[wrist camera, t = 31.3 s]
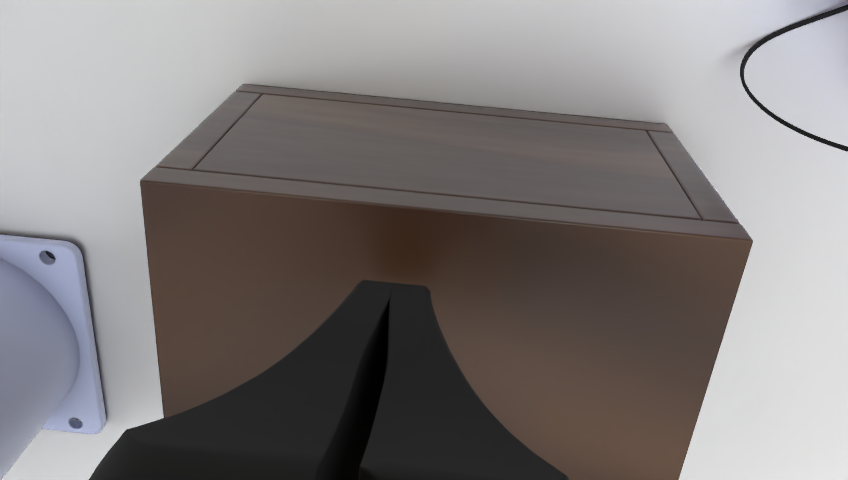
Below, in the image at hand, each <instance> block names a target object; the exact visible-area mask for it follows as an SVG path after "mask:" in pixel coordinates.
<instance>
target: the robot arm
mask: <svg viewBox="0 0 848 480" xmlns="http://www.w3.org/2000/svg"><path fill="white" fill-rule="evenodd" d="M46 251H49V252H51V253H52V254H53V255H54V257H55V259H52V258H50V257H49V256H48V255H47V254H46ZM75 418H77V419H79V420H80V421H78V420H76V419H75ZM105 424H106V415H105V408H104V401H103V394H102V388H101V381H100V374H99V367H98V360H97V353H96V346H95V340H94V333H93V326H92V319H91V312H90V305H89V298H88V292H87V285H86V278H85V271H84V264H83V257H82V254H81V251H80V250H79V248H78V247H77V246H76V245H74V244H73V243H71V242H67V241H60V240H50V239H40V238H30V237H20V236H10V235H0V480H2V478H3V477H4V476H5V475H6V473H7V472H8V471H9V469H10V468H11V467H12V465H13V464H14V463H15V462H16V460H17V459H18V458H19V456H20V455H21V454H22V452H23V451H24V450H25V449H26V447H27V446H28V445H29V443H30V442H31V441H32V439H33V438H34V437H35V436H36V434H37V433H38V432H39V430H40V429H47V430H56V431H66V432H75V433H85V434H97V433H99V432H100V431H101V430H102V429H103V427H104V426H105ZM89 480H569V478H568V477H567V475H565V474H564V473H562V472H561V471H559V470H558V469H557V468H555V467H554V466H552V465H551V464H549V463H548V462H546V461H545V460H544V459H542V458H541V457H539V456H538V455H536V454H535V453H534V452H532V451H531V450H530V449H529V448H528V447H526V446H525V445H524V444H523V443H522V442H521V441H519V440H518V439H517V438H516V437H515V436H514V435H512V434H511V433H510V432H509V431H508V430H507V429H506V428H505V427H504V425H503V424H502V423H501V422H500V421H499V420H498V419H497V418H496V417H495V416H494V415H493V414H492V413H491V412H490V410H489V409H488V408H487V407H486V405H485V404H484V403H483V402H482V400H481V399H480V398H479V396H478V395H477V394H476V392H475V391H474V390H473V388H472V387H471V385H470V384H469V382H468V381H467V379H466V378H465V376H464V374H463V373H462V371H461V369H460V368H459V366H458V364H457V362H456V361H455V359H454V357H453V355H452V353H451V351H450V349H449V347H448V345H447V343H446V340H445V338H444V336H443V334H442V332H441V329H440V327H439V324H438V321H437V318H436V315H435V312H434V309H433V305H432V301H431V292H430V290H429V289H428V288H427V287H426V286H421V285H411V284H401V283H391V282H381V281H371V280H362V281H361V282H359V283H358V284H357V285H356V286H355V288H354V289H353V290H352V291H351V293H350V294H349V295H348V296H347V297H346V299H345V300H344V301H343V302H342V303H341V304H340V305H339V306H338V308H337V309H336V310H335V311H334V312H333V313H332V314H331V315H330V316H329V317H328V318H327V319H326V320H325V321H324V322H323V323H322V324H321V325H320V326H319V327H318V328H317V329H316V330H315V331H314V332H313V333H312V334H311V335H309V336H308V337H307V338H306V339H305V340H304V341H303V342H301V343H300V344H299V345H298V346H297V347H296V348H295V349H293V350H292V351H291V352H290V353H288V354H287V355H286V356H285V357H283V358H282V359H281V360H279V361H278V362H277V363H275V364H274V365H273V366H271V367H270V368H268V369H267V370H265V371H264V372H262V373H261V374H259V375H258V376H256V377H254V378H252V379H250V380H248V381H247V382H245V383H243V384H241V385H239V386H238V387H236V388H234V389H232V390H230V391H229V392H227V393H225V394H223V395H221V396H219V397H216V398H214V399H212V400H210V401H208V402H205V403H203V404H201V405H198V406H196V407H193V408H191V409H189V410H186V411H183V412H181V413H178V414H175V415H173V416H170V417H166V418H163V419H160V420H157V421H154V422H151V423H147V424H144V425H141V426H138V427H135V428H131V429H127V430H126V431H125V432H124V433H123V434H122V436H121V437H120V438H119V440H118V441H117V442H116V443H115V444H114V445H113V447H112V448H111V449H110V450H109V451H108V453H107V454H106V455H105V457H104V458H103V459H102V461H101V462H100V464H99V465H98V466H97V468H96V469H95V471H94V473H93V474H92V476H91V477H90V479H89Z"/></svg>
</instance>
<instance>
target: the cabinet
mask: <svg viewBox="0 0 848 480" xmlns="http://www.w3.org/2000/svg"><path fill="white" fill-rule="evenodd" d="M140 186H141V196H142V206H143V215H144V225H145V235H146V245H147V255H148V265H149V275H150V285H151V295H152V305H153V315H154V325H155V334H156V344H157V354H158V364H159V374H160V384H161V394H162V404H163V414H164V418H166V417H170V416H173V415H175V414H178V413H181V412H183V411H186V410H189V409H191V408H193V407H196V406H198V405H201V404H203V403H205V402H208V401H210V400H212V399H214V398H216V397H219V396H221V395H223V394H225V393H227V392H229V391H230V390H232V389H234V388H236V387H238V386H239V385H241V384H243V383H245V382H247V381H248V380H250V379H252V378H254V377H256V376H258V375H259V374H261V373H262V372H264V371H265V370H267V369H268V368H270V367H271V366H273V365H274V364H275V363H277V362H278V361H279V360H281V359H282V358H283V357H285V356H286V355H287V354H288V353H290V352H291V351H292V350H293V349H295V348H296V347H297V346H298V345H299V344H300V343H301V342H303V341H304V340H305V339H306V338H307V337H308V336H309V335H311V334H312V333H313V332H314V331H315V330H316V329H317V328H318V327H319V326H320V325H321V324H322V323H323V322H324V321H325V320H326V319H327V318H328V317H329V316H330V315H331V314H332V313H333V312H334V311H335V310H336V309H337V308H338V306H339V305H340V304H341V303H342V302H343V301H344V300H345V299H346V297H347V296H348V295H349V294H350V293H351V291H352V290H353V289H354V288H355V286H356V285H357V284H358V283H359V282H361V281H362V280H371V281H381V282H391V283H401V284H411V285H421V286H426V287H427V288H428V289H429V290H430V292H431V301H432V305H433V309H434V312H435V315H436V318H437V321H438V324H439V327H440V329H441V332H442V334H443V336H444V338H445V340H446V343H447V345H448V347H449V349H450V351H451V353H452V355H453V357H454V359H455V361H456V362H457V364H458V366H459V368H460V369H461V371H462V373H463V374H464V376H465V378H466V379H467V381H468V382H469V384H470V385H471V387H472V388H473V390H474V391H475V392H476V394H477V395H478V396H479V398H480V399H481V400H482V402H483V403H484V404H485V405H486V407H487V408H488V409H489V410H490V412H491V413H492V414H493V415H494V416H495V417H496V418H497V419H498V420H499V421H500V422H501V423H502V424H503V425H504V427H505V428H506V429H507V430H508V431H509V432H510V433H511V434H512V435H514V436H515V437H516V438H517V439H518V440H519V441H521V442H522V443H523V444H524V445H525V446H526V447H528V448H529V449H530V450H531V451H532V452H534V453H535V454H536V455H538V456H539V457H541V458H542V459H544V460H545V461H546V462H548V463H549V464H551V465H552V466H554V467H555V468H557V469H558V470H559V471H561V472H562V473H564V474H565V475H567V477H568V478H569V480H678V479H679V476H680V473H681V470H682V466H683V463H684V460H685V457H686V454H687V450H688V447H689V444H690V441H691V438H692V434H693V431H694V428H695V425H696V422H697V418H698V415H699V412H700V409H701V406H702V402H703V399H704V396H705V393H706V390H707V387H708V383H709V380H710V377H711V374H712V371H713V367H714V364H715V361H716V358H717V355H718V351H719V348H720V345H721V342H722V339H723V335H724V332H725V329H726V326H727V323H728V319H729V316H730V313H731V310H732V307H733V303H734V300H735V297H736V294H737V291H738V287H739V284H740V281H741V278H742V275H743V271H744V268H745V265H746V262H747V259H748V256H749V252H750V249H751V246H752V243H753V240H752V239H751V237H750V236H749V234H748V233H747V232H746V230H745V229H744V228H743V226H742V225H740V224H739V222H738V220H737V219H736V218H735V216H734V215H733V214H732V212H731V211H730V209H729V208H728V207H727V205H726V204H725V203H724V201H723V200H722V199H721V197H720V196H719V194H718V193H717V192H716V190H715V189H714V188H713V186H712V185H711V183H710V182H709V181H708V179H707V178H706V177H705V175H704V174H703V173H702V171H701V170H700V168H699V167H698V166H697V164H696V163H695V162H694V160H693V159H692V158H691V156H690V155H689V153H688V152H687V151H686V149H685V148H684V147H683V145H682V144H681V142H680V141H679V140H678V138H677V137H676V136H675V134H673V131H672V130H671V129H670V127H669V126H668V125H667V124H657V123H647V122H636V121H626V120H615V119H605V118H594V117H584V116H573V115H563V114H552V113H542V112H531V111H521V110H510V109H499V108H489V107H478V106H468V105H457V104H447V103H436V102H426V101H415V100H405V99H394V98H384V97H373V96H363V95H352V94H342V93H331V92H321V91H310V90H300V89H289V88H279V87H268V86H258V85H247V84H243V85H241V86H240V87H239V88H238V89H237V90H236V92H234V93H233V94H232V95H231V96H229V97H228V98H227V99H226V100H225V101H224V102H223V103H222V104H221V105H220V106H219V107H218V108H217V109H216V110H215V111H214V112H213V113H211V114H210V115H209V116H208V117H207V118H206V119H205V120H204V121H203V122H202V123H201V124H200V125H199V126H198V127H197V128H196V129H195V130H193V131H192V132H191V133H190V134H189V135H188V136H187V137H186V138H185V139H184V140H183V141H182V142H181V143H180V144H179V145H178V146H177V147H175V148H174V149H173V150H172V151H171V152H170V153H169V154H168V155H167V156H166V157H165V158H164V159H163V160H162V161H161V162H160V163H159V164H157V165H156V167H155V168H153V169H152V170H151V171H150V172H149V173H148V174H147V175H145V176H144V177H143V178H142V179H141V181H140Z"/></svg>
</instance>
